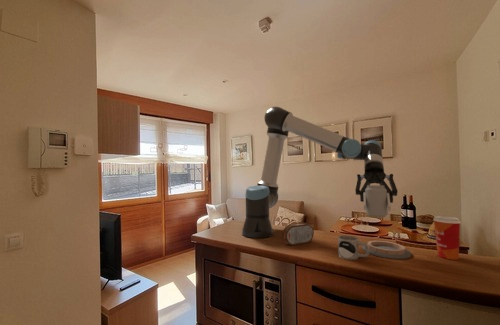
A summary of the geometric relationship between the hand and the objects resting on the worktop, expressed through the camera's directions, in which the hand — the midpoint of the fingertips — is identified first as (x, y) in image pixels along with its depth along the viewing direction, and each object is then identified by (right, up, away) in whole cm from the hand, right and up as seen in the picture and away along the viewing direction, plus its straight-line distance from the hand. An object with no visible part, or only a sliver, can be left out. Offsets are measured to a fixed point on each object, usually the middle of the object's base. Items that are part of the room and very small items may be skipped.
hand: (376, 207), depth 88 cm
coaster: (+4, -17, +1) cm, 17 cm away
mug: (-12, -17, -6) cm, 21 cm away
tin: (-27, -18, +11) cm, 34 cm away
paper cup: (+22, -17, -5) cm, 28 cm away
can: (+2, -4, +3) cm, 5 cm away
